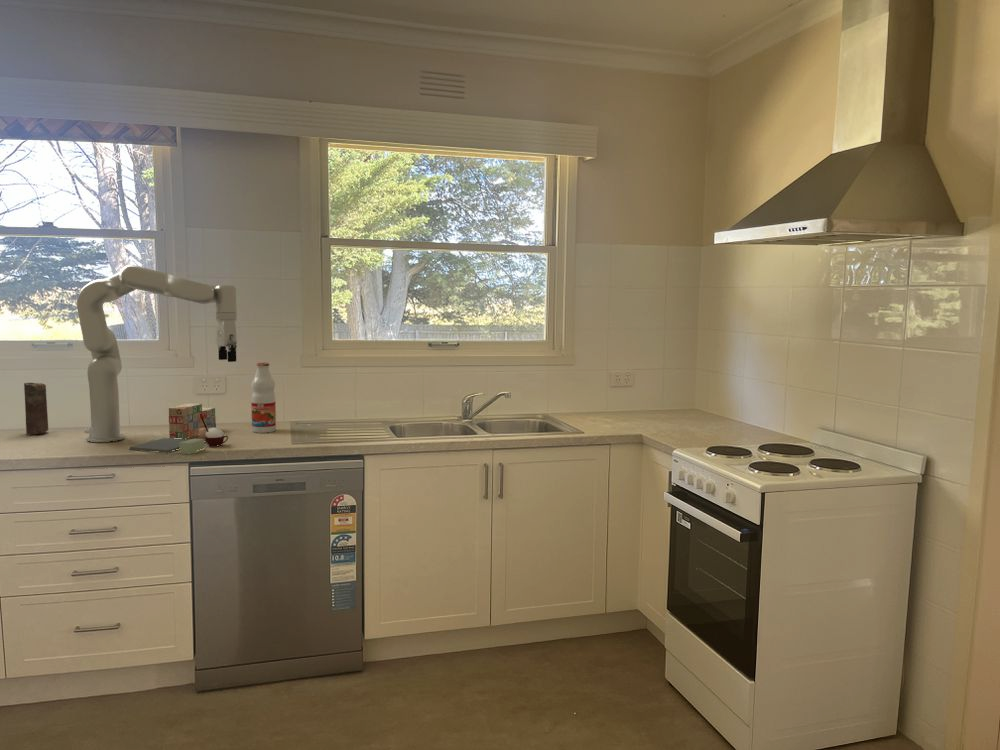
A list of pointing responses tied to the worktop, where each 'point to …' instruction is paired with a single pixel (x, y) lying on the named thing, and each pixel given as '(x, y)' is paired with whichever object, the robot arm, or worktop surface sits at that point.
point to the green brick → (191, 446)
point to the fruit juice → (263, 400)
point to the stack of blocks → (189, 419)
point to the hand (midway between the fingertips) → (227, 360)
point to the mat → (159, 445)
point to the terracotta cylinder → (202, 432)
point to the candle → (36, 408)
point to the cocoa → (214, 435)
